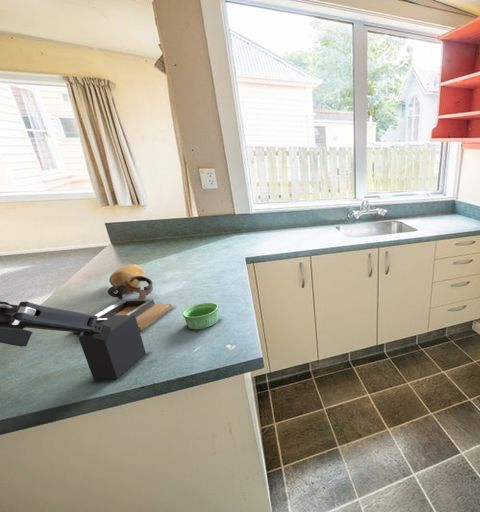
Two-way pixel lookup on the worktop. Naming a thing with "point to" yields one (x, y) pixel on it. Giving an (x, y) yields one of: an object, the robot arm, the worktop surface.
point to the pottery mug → (131, 288)
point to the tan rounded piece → (126, 274)
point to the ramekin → (201, 315)
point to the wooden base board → (136, 311)
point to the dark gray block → (114, 348)
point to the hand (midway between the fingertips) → (67, 336)
